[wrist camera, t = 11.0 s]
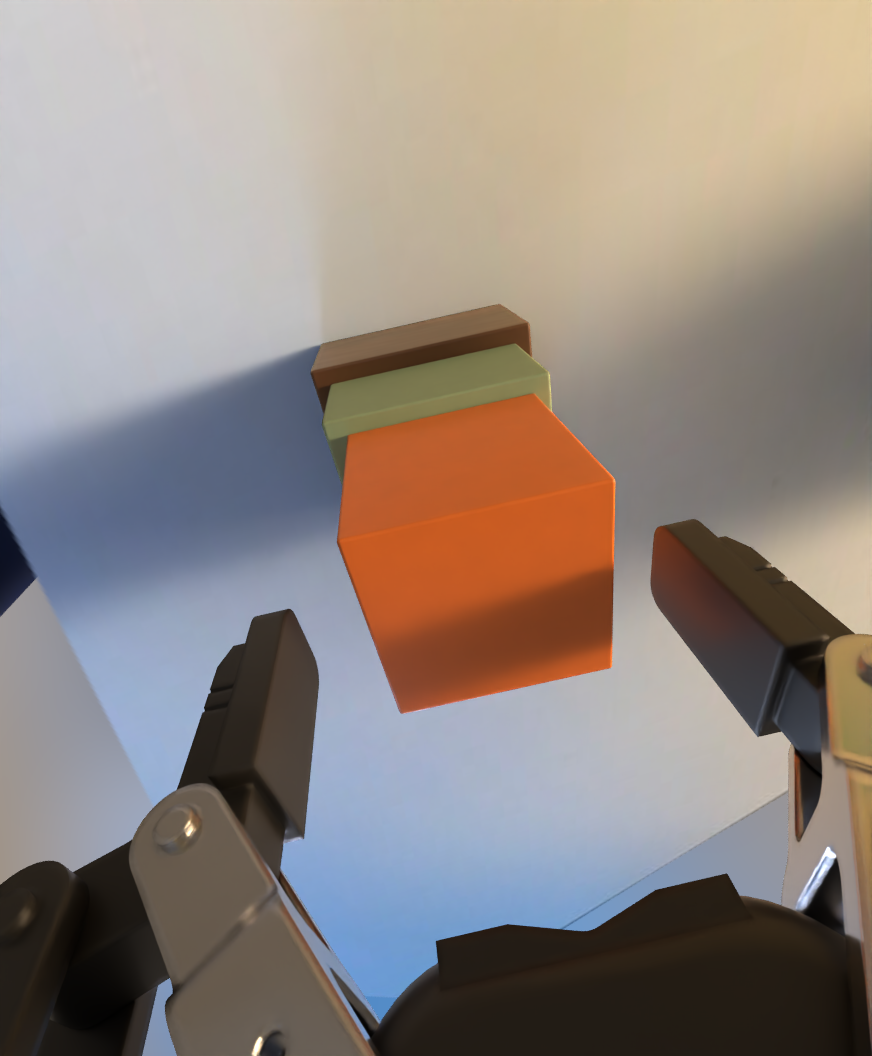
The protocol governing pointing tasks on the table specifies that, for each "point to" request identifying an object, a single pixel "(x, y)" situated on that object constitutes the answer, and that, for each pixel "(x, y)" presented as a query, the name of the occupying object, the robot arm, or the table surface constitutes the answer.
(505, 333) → the walnut block
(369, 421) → the green block
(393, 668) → the toy cube
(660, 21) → the table surface
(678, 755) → the table surface
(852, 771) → the robot arm
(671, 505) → the table surface
